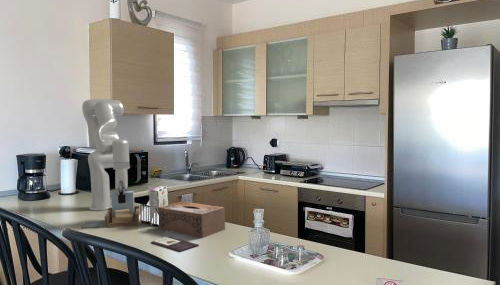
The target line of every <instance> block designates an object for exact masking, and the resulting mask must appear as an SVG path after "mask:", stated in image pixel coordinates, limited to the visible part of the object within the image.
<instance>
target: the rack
mask: <svg viewBox="0 0 500 285" xmlns="http://www.w3.org/2000/svg"><path fill="white" fill-rule="evenodd" d="M134 211H135V220H134V221H132V222H118V223H112V208H108V209H107V213H106V214H105V215H104V220H105V227H104V228H116V227H130V226H132V225H133V226H138V225H139V223H140V219H139V214H141V212H140V205H134Z"/></svg>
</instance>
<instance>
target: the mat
mask: <svg viewBox="0 0 500 285" xmlns="http://www.w3.org/2000/svg"><path fill="white" fill-rule="evenodd" d="M91 228H105V219H103V220H92V221H89V220H87V221H85V222H84V223H83V225H82V226H81V229H91Z"/></svg>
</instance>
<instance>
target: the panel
mask: <svg viewBox="0 0 500 285" xmlns="http://www.w3.org/2000/svg"><path fill="white" fill-rule="evenodd" d="M125 199H126V202H125V203H118V191H112V192H110V200H111V204H112V217H113V216H115V210H124V209H129V210H130V214H133V221H135V211H134V206H135V192H134V191H133V190H127V191H125Z"/></svg>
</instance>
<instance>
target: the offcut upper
mask: <svg viewBox="0 0 500 285" xmlns="http://www.w3.org/2000/svg"><path fill="white" fill-rule="evenodd" d="M124 216H130V210H129V209H124V210H115V217H124Z"/></svg>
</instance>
